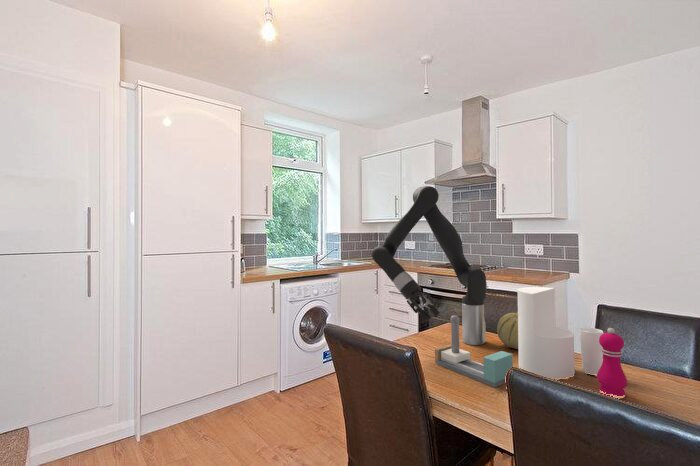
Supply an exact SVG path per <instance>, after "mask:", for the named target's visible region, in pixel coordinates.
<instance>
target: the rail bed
mask: <svg viewBox="0 0 700 466" xmlns="http://www.w3.org/2000/svg"><path fill="white" fill-rule="evenodd" d="M451 348H452V345H451V343H450V344H446V345H443V346H440V347H436V348H434V362H435V363H434V364H436V365H439V366H441V367H443V368H446V369H448V370H451V371H453V372H455V373H458V374H461V375H463V376H466V377H468V378H471V379H472V380H476V381H477V382H480V383H483V384H485V385H487V386H490V387H492V388H497V387H500V386H501V385H504V384H506V383H505V376H506V373H507V371H508V370H509V369H510V368H511V367H513V368H514V366H513V365H514V364H513V354H512V353H510V352H507V351H503V350H500V351H497V352H495V353H492V354H489V355H488V354H487V355H485V356H483V359H482V360H483V363H480V362H478V361H475V360H472V359H471V358H470V359H467V360H464V361H461V362H458V363H454V362H452V361H449V360H446V359H444V358H441V351H444V350H448V349H451Z"/></svg>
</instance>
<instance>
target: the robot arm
mask: <svg viewBox="0 0 700 466" xmlns="http://www.w3.org/2000/svg"><path fill="white" fill-rule="evenodd" d="M412 201H413V204H412V205H411V207H410V208H409V210H408V211H407V212H406V213H405V214H404V215H403V216H402V217H401V218H400V219H399V220H397V222H396V223H395V224H394V225H393V226H392V228H391V229H390V230H389V232H387V234H386V236H385V239H384V243H383V245H381V246H380V245H379V246H376V247H374V248H373V249H372V251H371V257H372V258H371V259H373V261H374V262H375V263H376V265H377V266H379V267H380V268H381V270H383V272H384V273H385V274H386V275H387V277H388V279H390V281H391V282H392V284H394V287H396V289H397V290H398V292H399V293H400V294H401V295H402V296H403V297H404V299H405V300H406V302H407V304H408V305H409V307H410V308H411V309H412V311H413V312H414V313H415V314H417V313H418V314H420V315H421V316H422V318H424V320H425V321H426V322H428V321H430V320H431V318H432V317H431V315H430V314H429V313H428V312H427V311H426V309H425V308H428V309H429V310H430V312H431V313H432V314H433V316H435V317H438V316H439V315H440V311H439V310H438V309H437V307H436V306H435V304H436V302H435V301H434V300H433V299H432V298H431V296H429V294H428V292H425V291H424V292H423V293H422V292H421V290H422V289H421V288H422V287H421V286H420V284H418V283H417V282H416V280H415V279H414V278H413V277H412V276H411V275H410V273H408V272H407V271H406V270H405V269H404V267H403V266H402V265H401V264H400V263H399V262H397V260H396V259H395V258H394V257H395V254H396V253H397V251H398V248H399V247H400V246H401V244H403V242H404V241H405V239H407V237H408V235H409V234H410V232H411V231H412V230H413V229H414V227H415V226H416V224H418V222H419V221H420V220H421V219H422V218H423V217H424V219H425V220H426V222H427V224H428V226H429V228H430V230H431V232H432V234H433V235H434V237H435V239H436V241H437V242H438V244H439V246H440V248H441V249H442V251H443V252H444V254H445V256H446V258H447V259H448V261H449V263H450V264H451V267H452V268H453V270H454V273H455V275H456V277H457V279H458V281H459V283H460V285H462V286H463V287H465V288H466V294H464V295H463V296H462V298H461V318H462V319H461V321H462V324H461V325H462V332H461V333H462V342H463V343H464V344H466V345H470V346H471V345H472V346H482V345H484V344H485V343H486V339H487V336H486V334H487V333H486V320H485V300H486V295H487V276H486V272H485V271H484V270H483V269H481V268H478V267H474V266H473V267H472V266H471V265H470V263H469V262H468V260H467V258H466V256H465V253H464V248H463V240H462V238H461V236H460V234H459V233H458V231H457V229H456V228H455V226H454V225H453V223H452V222H451V221H449V220H448V219H447V217H446V216H445V215H444V214H443V213H442V212H441V210H440V208H439V207H438V205H437V203H438V201H439V191H438V190H437V189H436V188H435V186H434V187H433V186H431V185H425V186H419V187H417V188H416V189H415V190H414V191H413V192H412ZM424 307H425V308H424Z"/></svg>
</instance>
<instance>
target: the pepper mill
mask: <svg viewBox="0 0 700 466" xmlns="http://www.w3.org/2000/svg"><path fill="white" fill-rule="evenodd" d="M615 332H616V330H615V329H614V328H612V327H608V328H607V332H604V333H603V334H602V335H601V336H600V337H599V343H600V345H601V346H602V347H603V348H601V350H602V351H601V353H602V354H603V360H602V365H601V367H600V369H599V371H598V374H597V376H596V380H597V381H598V382H597V383H598V384H600V385H599V386H598V390H599V389H600V390H601V391H603V392H604V393H605V392H606V394H613V395H617V396H623V395H625V396H626V391H625V389H626V387H627V386H628V379H627V377H626V374H625V372H624V369H623V368H622V365H621V357H623V351H622V349H623V348H624V347H625V342H624V339H623V337H621V335H619V334H617V333H615ZM602 394H603V393H600V395H602ZM606 394H604V395H606ZM607 396H610V395H607ZM611 397H613V396H611ZM616 400H619V399H618V398H617V399H616Z"/></svg>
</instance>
